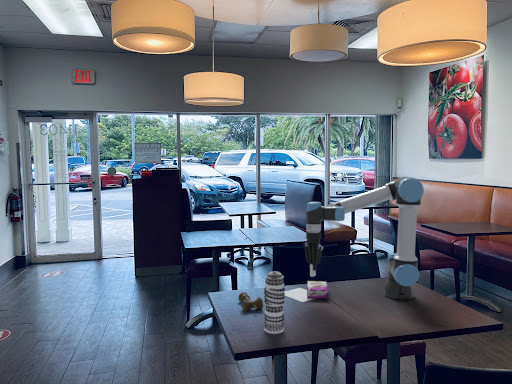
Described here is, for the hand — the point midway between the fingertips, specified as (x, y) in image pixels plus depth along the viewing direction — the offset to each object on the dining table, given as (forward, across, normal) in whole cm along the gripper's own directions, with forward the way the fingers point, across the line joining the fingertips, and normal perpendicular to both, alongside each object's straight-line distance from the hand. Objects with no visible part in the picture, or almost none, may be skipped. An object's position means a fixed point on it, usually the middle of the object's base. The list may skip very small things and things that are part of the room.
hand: (312, 276), depth 216 cm
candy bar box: (+10, +2, +2) cm, 10 cm away
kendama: (+13, -11, -34) cm, 38 cm away
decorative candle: (+13, +17, -42) cm, 47 cm away
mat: (+12, -8, 0) cm, 15 cm away
